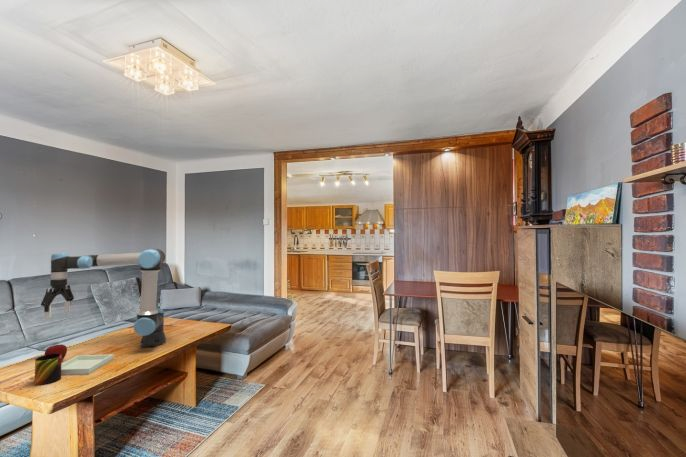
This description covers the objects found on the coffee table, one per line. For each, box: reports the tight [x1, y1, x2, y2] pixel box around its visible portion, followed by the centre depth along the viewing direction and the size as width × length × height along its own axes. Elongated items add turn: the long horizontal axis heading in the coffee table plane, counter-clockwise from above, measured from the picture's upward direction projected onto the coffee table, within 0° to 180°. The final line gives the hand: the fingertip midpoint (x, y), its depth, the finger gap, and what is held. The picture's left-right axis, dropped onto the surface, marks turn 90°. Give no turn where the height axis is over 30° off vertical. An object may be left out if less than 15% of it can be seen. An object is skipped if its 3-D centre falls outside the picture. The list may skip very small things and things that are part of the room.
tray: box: [61, 354, 115, 376], centre depth 171 cm, size 20×20×3 cm
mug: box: [34, 353, 63, 387], centre depth 155 cm, size 10×14×12 cm
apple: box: [44, 344, 68, 361], centre depth 178 cm, size 10×10×10 cm
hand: (57, 314), depth 185 cm, fingers open, 13 cm apart
